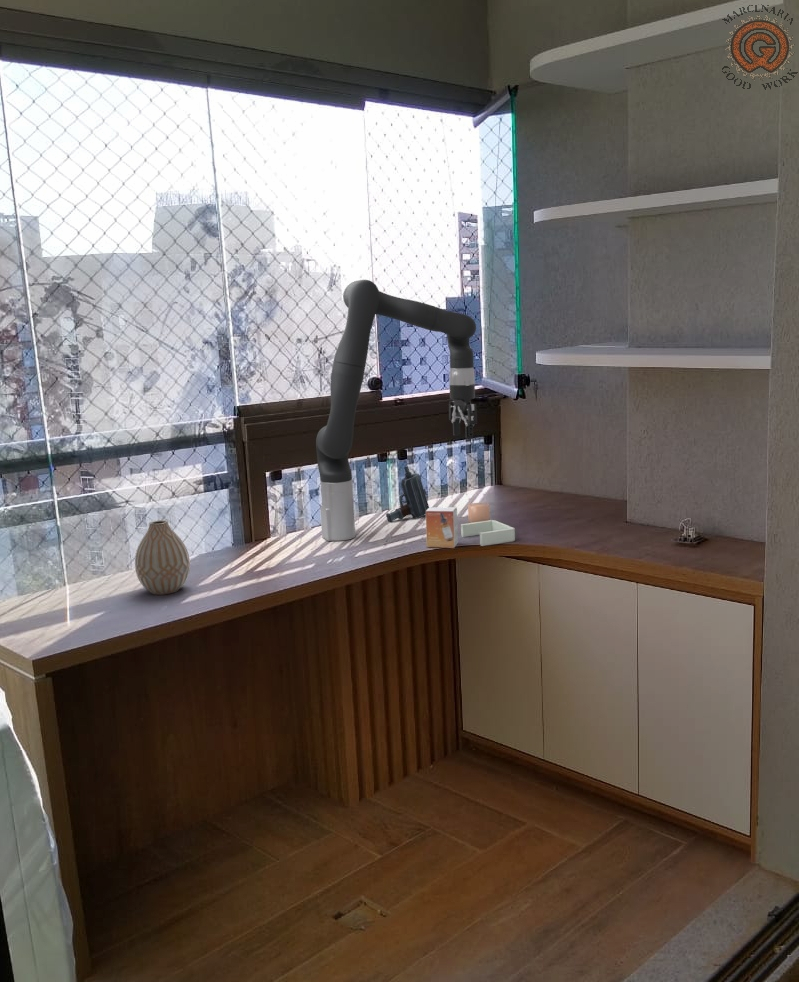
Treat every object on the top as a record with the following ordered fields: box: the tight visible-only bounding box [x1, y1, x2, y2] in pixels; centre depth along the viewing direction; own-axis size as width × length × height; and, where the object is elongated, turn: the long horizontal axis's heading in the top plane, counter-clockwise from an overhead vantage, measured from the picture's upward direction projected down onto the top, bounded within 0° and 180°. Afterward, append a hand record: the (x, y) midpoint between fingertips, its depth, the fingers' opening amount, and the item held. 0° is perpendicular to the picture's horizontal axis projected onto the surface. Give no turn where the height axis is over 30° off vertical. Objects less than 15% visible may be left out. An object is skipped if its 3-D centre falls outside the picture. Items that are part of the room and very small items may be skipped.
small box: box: [425, 506, 459, 549], centre depth 265 cm, size 8×6×10 cm
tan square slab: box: [467, 502, 491, 523], centre depth 284 cm, size 6×6×7 cm
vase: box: [134, 519, 191, 596], centre depth 233 cm, size 13×13×18 cm
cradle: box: [460, 519, 516, 547], centre depth 271 cm, size 11×13×4 cm
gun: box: [385, 465, 430, 523], centre depth 299 cm, size 3×17×15 cm
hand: (463, 437), depth 287 cm, fingers open, 8 cm apart
